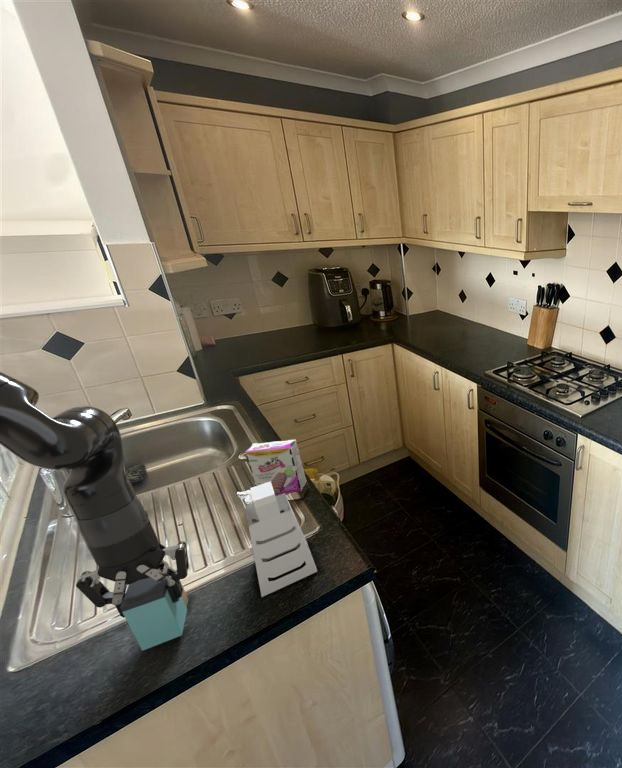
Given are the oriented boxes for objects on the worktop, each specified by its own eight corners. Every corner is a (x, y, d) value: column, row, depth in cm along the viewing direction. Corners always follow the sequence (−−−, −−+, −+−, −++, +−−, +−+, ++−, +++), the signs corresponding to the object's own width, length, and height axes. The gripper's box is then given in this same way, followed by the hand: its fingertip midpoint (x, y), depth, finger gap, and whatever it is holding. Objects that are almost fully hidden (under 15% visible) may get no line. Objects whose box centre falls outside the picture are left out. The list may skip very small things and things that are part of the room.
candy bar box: (260, 505, 109) (243, 452, 103) (267, 494, 113) (251, 442, 107) (304, 499, 110) (290, 447, 104) (309, 489, 115) (296, 438, 109)
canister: (152, 648, 72) (122, 655, 63) (146, 583, 76) (118, 581, 67) (190, 633, 75) (167, 637, 65) (183, 571, 78) (160, 567, 69)
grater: (307, 543, 94) (287, 470, 87) (317, 571, 86) (296, 493, 79) (255, 565, 89) (229, 488, 82) (261, 597, 81) (232, 515, 74)
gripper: (44, 562, 58) (92, 645, 64) (169, 525, 65) (202, 603, 71) (65, 531, 64) (107, 609, 70) (177, 500, 71) (207, 574, 77)
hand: (155, 606), depth 70 cm, fingers closed on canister, 5 cm apart
